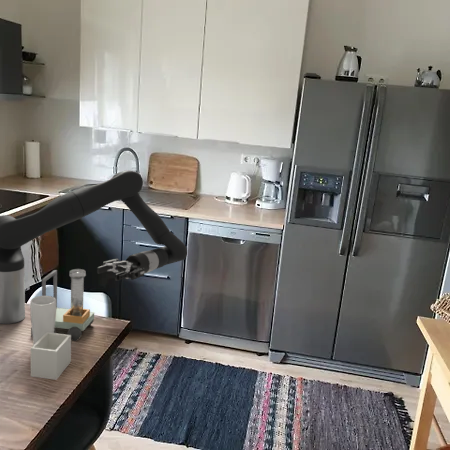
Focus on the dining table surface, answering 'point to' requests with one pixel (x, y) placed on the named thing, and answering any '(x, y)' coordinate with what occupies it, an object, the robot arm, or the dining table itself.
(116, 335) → the dining table surface
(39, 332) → the drinking glass
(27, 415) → the dining table surface
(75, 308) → the steel pin
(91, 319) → the trolley
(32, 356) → the bin
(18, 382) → the dining table surface
